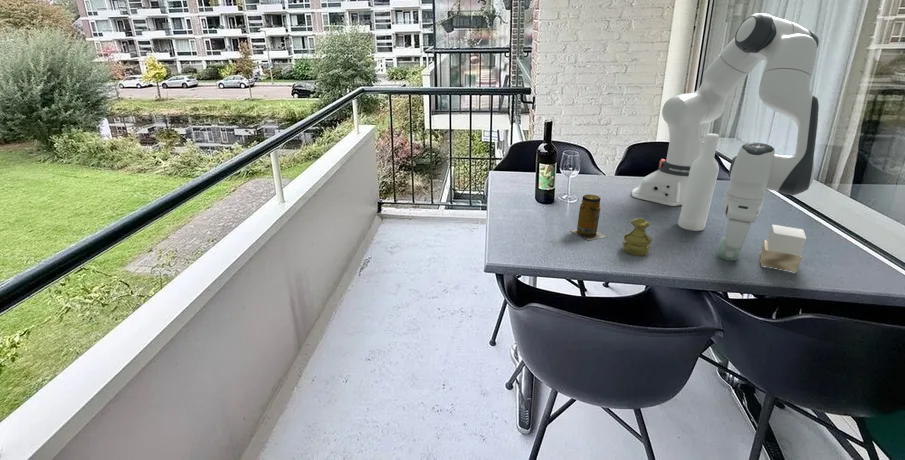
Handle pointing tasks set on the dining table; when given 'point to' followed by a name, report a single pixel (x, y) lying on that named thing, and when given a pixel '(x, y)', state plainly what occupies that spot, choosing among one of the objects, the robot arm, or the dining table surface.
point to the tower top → (786, 240)
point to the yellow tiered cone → (637, 238)
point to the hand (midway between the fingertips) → (729, 251)
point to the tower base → (779, 259)
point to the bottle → (700, 187)
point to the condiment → (589, 218)
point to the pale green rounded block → (723, 249)
